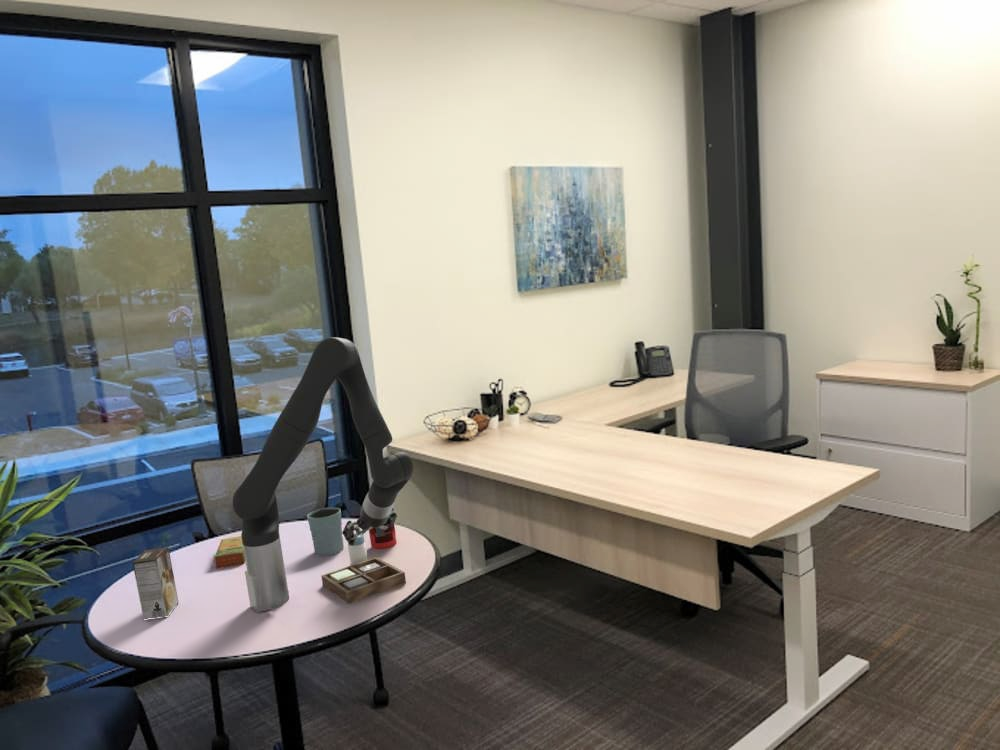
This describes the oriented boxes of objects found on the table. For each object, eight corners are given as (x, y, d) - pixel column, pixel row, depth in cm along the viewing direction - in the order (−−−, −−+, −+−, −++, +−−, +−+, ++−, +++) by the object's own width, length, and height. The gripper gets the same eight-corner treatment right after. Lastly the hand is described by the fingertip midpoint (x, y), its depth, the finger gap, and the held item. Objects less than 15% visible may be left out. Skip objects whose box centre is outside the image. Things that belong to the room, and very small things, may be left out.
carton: (250, 547, 256) (248, 534, 255) (244, 565, 240) (242, 551, 240) (222, 551, 254) (220, 538, 254) (215, 570, 239) (213, 556, 238)
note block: (339, 590, 210) (337, 579, 210) (331, 585, 215) (330, 574, 214) (356, 584, 213) (355, 573, 213) (348, 579, 217) (347, 569, 217)
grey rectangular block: (365, 580, 215) (364, 571, 215) (359, 577, 218) (358, 568, 218) (381, 574, 218) (380, 565, 218) (376, 571, 221) (374, 562, 221)
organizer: (349, 605, 202) (347, 592, 201) (323, 588, 215) (321, 575, 215) (406, 584, 211) (404, 572, 210) (378, 569, 224) (376, 557, 224)
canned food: (384, 539, 248) (379, 505, 246) (402, 543, 243) (397, 508, 241) (365, 548, 242) (360, 513, 240) (383, 552, 237) (378, 516, 235)
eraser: (351, 598, 204) (349, 587, 204) (344, 594, 208) (343, 583, 207) (369, 592, 207) (367, 581, 207) (362, 588, 211) (360, 577, 210)
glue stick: (356, 573, 223) (351, 540, 222) (348, 568, 227) (344, 536, 226) (371, 567, 226) (367, 535, 224) (364, 563, 230) (359, 531, 228)
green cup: (319, 559, 237) (313, 520, 235) (307, 550, 246) (302, 513, 244) (351, 549, 242) (345, 511, 240) (339, 541, 251) (333, 504, 249)
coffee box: (155, 606, 215) (144, 549, 213) (179, 603, 216) (169, 546, 213) (142, 621, 206) (131, 562, 204) (168, 618, 207) (157, 558, 204)
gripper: (395, 487, 215) (382, 519, 226) (346, 501, 207) (335, 534, 218) (407, 510, 211) (393, 541, 222) (358, 525, 203) (346, 557, 214)
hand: (364, 538), depth 220 cm, fingers open, 8 cm apart
